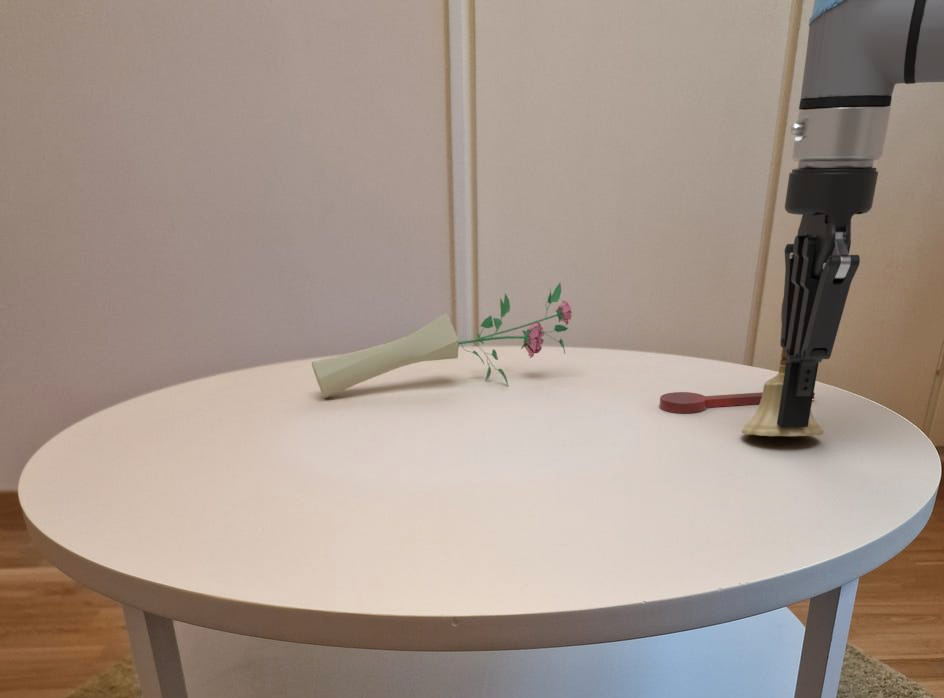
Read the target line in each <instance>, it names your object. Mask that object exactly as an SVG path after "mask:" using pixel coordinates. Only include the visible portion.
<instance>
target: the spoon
mask: <svg viewBox="0 0 944 698" xmlns="http://www.w3.org/2000/svg"><path fill="white" fill-rule="evenodd" d="M762 393H763V391H760V392H747V393H732V394H717V395H714V394H713V395H704V394H701V393H697V392H688V391H674V392H668V393H664V394H661V396H659V408H660V409H661V411H664V412H668V413H673V414H697V413H701V412H704V411H705V410H706V409H707V408H708V409H709V407H710V408H720V407H721V406H725V407H736V406H735V405H740V406H752V405H751V404H755V405H759V404H760V401H761V398H762ZM815 394H816V393H815V392H814V393H813V399H814V400H815V396H816V395H815ZM749 404H750V405H749ZM721 408H722V407H721Z"/></svg>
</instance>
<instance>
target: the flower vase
mask: <svg viewBox="0 0 944 698" xmlns="http://www.w3.org/2000/svg"><path fill="white" fill-rule="evenodd" d="M561 293H562V285H561V281H560V282H559V283H558V284H557V285H556V287H555V288H554V290H553V293H552V291H551V287H549V293H548V297H547V301H546V303H545V305H547V304H549V305H548V306H547V307H545V309H546V312H545V315H547V314H548V310H549V308H550V306H551V305H552V303H558V302H559V300H560V297H561ZM499 303H500V305H499V306H500V318H497V317H493V315H489V316H488V317H486V318H485V319H484V320H483V321H482V322H481V324H480V327H482V329H481V331H480V333H477V334H476V335H477V338H475V339H470V340H461V341H460V340H459V337H458V335H457V333H456V330H455V327H454V326H453V324H452V321H451V319H450V317H449V313H448V312H447V311H446V312H445V313H443V314H441V315H440V316H438V317H437V318H435V319H433V320H432V321H430V322H429V323H427V324H426V325H424V326H422V327H420V328H419V329H418V330H416V331H414V332H412V333H410V334H409V333H408V334H407V335H405V336H402V337H400V338H398V339H395V340H393V341H390V342H386V343H382V344H379V345H375V346H372V347H368V348H364V349H360V350H355V351H351V352H348V353H345V354H340V355H336V356H332V357H327V358H323V359H318V360H314V361H311V366H312V370H313V373H314V377H315V379H316V381H317V384H318V387H319V391H320V392H321V395H322V397H323V399H327V398H329V397H332V396H334V395H336V394H339V393H341V392H343V391H345V390H347V389H350V388H352V387H354V386H356V385H358V384H360V383H364V382H366V381H368V380H371V379H374V378H376V377H378V376H381V375H383V374H387V373H390V372H391V371H394V370H396V369H399V368H402V367H405V366H409V365H412V364H417V363H422V362H433V361H441V360H442V361H443V360H445V361H446V360H455V359H459V346H460V345H461V347H462V348H463V350H464V351H466V352H468V353H471V354H474V355H476V356H477V357H478V358H479V359H480V361H481V362H482V363H483V365H485V362H484V360H483V358H482V357H481V356H480V355H479V353H478V352H477V351H476V350H473V351H470V350H468V351H467V350H466V349H465V348H464V346H463V345H464V344H465V345H466V344H472V343H473V344H474V345H475V346H477V347H478V348H479V349H480V351H481V352H483V353H484V355H485V356H486V360H488V361H489V362H488V361H486V363H487V366H488V367H487V372H486V376H485V382H486V381H488V379H489V378H490V376H491V374H492V369H491V366H492V367H493V368H494V369H495V370H496V371H498V372H499V374H501V376H502V377H503V379H504V381H505V383H506V385H507V386H509V383H508V379H507V376H506V374H505V372H504V370H503V369H502V368H498V369H497V368H496V367H495V366H494V365H493V363H492V362H491V360H490V358H489V357H488V355H490V356H492V357H493V359H494V360H497V361H499V357H498V354H497V351H496V349H494V348H493V349H492V352H491V353H488V352H486V353H485V351H484V350H483V349H482V348H481V347H480V346H479V345H478V344H477V343H481V344H483V345H484V344H485V343H484V342H486V341H493V340H494V341H495V340H506V339H523V345H522V346H521V348H520V350H522V349H523V348H524V349H525V350H526V352H527V354H528V357H529V359H531V358H533V357H534V356H535V354H539V353H540V352H541V350H542V349H543V347H542V345H543V344H544V342H545V341H544V339H543V337H544V335H546V336H548V337H549V338H550V339H553V340H554V341H557V342H558V343H559V344H560V346H561V347H562V349H563V354H564V355H566V350H565V349H566V348H565V343H564V340H563V339H562V338H560V339H559V340H558V339H555V337H553V336H550V335H549V334H547V332H545V331H544V327H543V326H542V324H541V323H540V322H543V321H546V320H549V319H553V318H555V317H557V318H558V323H560V322H564V323H565V325H563V324H555V325H554V329H553V330H550V333H553V332H554V331H555V332H556V333H561V332H566V331H567V330H569V327H567V325H569V323H570V321H571V320H572V317H573V315H572V314H573V312H572V307H571V305H570V303H568V301H566V300H565V299H564V300H562V301H561V303H560V305H558V306H557V309H555V312H556V314H553V315H550V316H546V317H543V318H541V319H538V320H537V319H535V320H533V321H532V322H529V323H526V324H523V325H519V326H516V327H512V328H509V329H505V330H501V331H499V329H500V328H501V326H502V325H503V321H502V319H503V318H504V317H505V316H506V314H508V313H510V310H511V303H510V299H509V297H508V295H507V293H506V292H504V298H503V299H502V298H501V297H500V300H499ZM493 327H494V328H495V332H494V333H491V334H488V335H484V336H482V332H483V331H484V329H491V328H493ZM525 327H528V328H527V330H521V331H522V333H523V335H504V336H502V335H501V334H505V333H508V332H511V331H512V332H513V331H515V330H518V329H522V328H525ZM497 335H501V336H497ZM487 354H488V355H487ZM490 364H491V366H490Z"/></svg>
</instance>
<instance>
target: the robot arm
mask: <svg viewBox="0 0 944 698" xmlns="http://www.w3.org/2000/svg"><path fill="white" fill-rule="evenodd" d="M808 26H809V27H808V37H807V43H806V44H807V46H806V53H805V59H804V60H805V61H804V68H803V76H802V77H803V78H802V85H801V95H800V100H799V104H798V105H799V106H798V115H797V122H793V123H792V125H790V133H791V135H793V136H795V137H794V141H793V149H792V160H793V161H794V162H798V164H797V168H792V170H791V172H789V174H788V182H787V188H786V194H785V202H784V210H785V211H786V213H788V214H790V215H799V216H800V215H801V216H802V217H801V218H800V223H799V227H798V229H797V235H795V237H794V241H793V243H787V244H786V245H785V248H784V266H785V270H784V271H785V272H784V288H783V297H784V300H783V299H782V302H783V314H782V322H781V331H780V341H779V342H780V347H781V348H783V347H786V349H785V355H786V361H787V362H786V368H785V375H784V381H783V388H782V394H781V401H780V407H779V414H778V421H777V424H778V425H779V426H780V427H781V428H788V427H808V423H809V417H810V411H811V412H812V404H813V401H812V399H813V393H815V387H816V380H817V377H818V376H817V374H818V369H819V363H821V362H822V361H823V360H829V359H830V358H831V356H832V352H833V349H834V345H835V342H836V338H837V335H838V331H839V327H840V324H841V320H842V317H843V313H844V309H845V305H846V302H847V298H848V295H849V291H850V288H851V284H852V281H853V279H854V278H855V275H856V273H857V271H858V268H859V266H860V263H861V257H860V255H859V254H850V250H851V245H852V240H851V237H852V217H853V216H855V215H864V214H867V213H869V212H870V211H871V209H872V207H873V203H874V198H875V192H876V186H877V181H878V176H879V171H877V168H876V167H874V163H875V162H874V161H875V160H879V159H881V158H882V157H883V152H884V149H885V148H884V147H885V142H886V137H887V132H888V126H889V120H890V115H891V109H892V107H891V105H892V99H893V98H892V97H893V93H894V89H895V86H896V85H897V84H898V85H899V84H905V85H910V84H911V85H912V84H913V85H914V84H918V83H919V84H921V83H923V84H924V83H944V0H814V2H813V8H812V14H811V17H810V18H809V21H808Z"/></svg>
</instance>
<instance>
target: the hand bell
mask: <svg viewBox="0 0 944 698" xmlns="http://www.w3.org/2000/svg"><path fill="white" fill-rule="evenodd" d="M783 300H784V296H783V298H782V302H781V313H780V320H781V323H782V314H783ZM785 349H786V347H782V349H781V354H780V358H781V359H780V362H779V367H778V373H777V374H776V375H775V376H773V377H772V378H770V379H768V380H766V381H765V382H764V384H763V388H762V392H763V393H762V398H761V401H760V404H758V407H757V409H756V412H755V413H754V415H753V417H752V418H751V420H749V422H748V423H747V424H746V425H744V426H743V428H742V430H741V433H742V434H744V435H751V436H758V437H759V436H760V437H761V436H763V437H764V436H766V437H810V436H820V435H823V434H824V429H823V428H822V426H820V425H819V424H818V422H817V420H816V419H815V417H814V415H813V412H812V410H811V411H810V417H809V423H808V427H788V428H781V427H780V426H779V425H778V424H777V421H778V414H779V407H780V401H781V394H782V388H783V381H784V375H785V368H786V362H787V361H786V355H785Z"/></svg>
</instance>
